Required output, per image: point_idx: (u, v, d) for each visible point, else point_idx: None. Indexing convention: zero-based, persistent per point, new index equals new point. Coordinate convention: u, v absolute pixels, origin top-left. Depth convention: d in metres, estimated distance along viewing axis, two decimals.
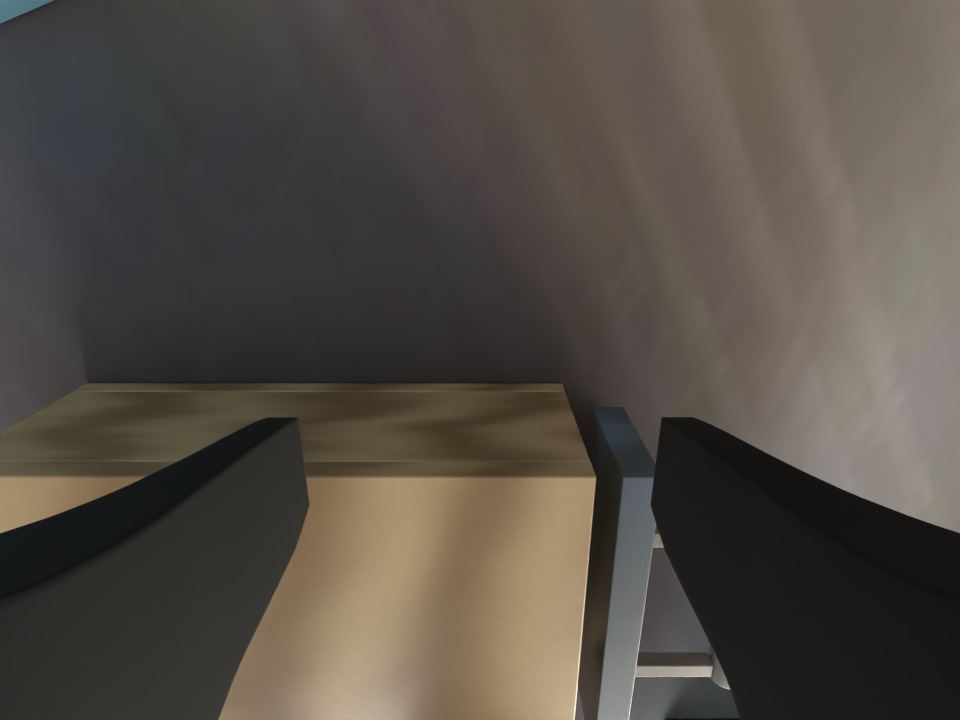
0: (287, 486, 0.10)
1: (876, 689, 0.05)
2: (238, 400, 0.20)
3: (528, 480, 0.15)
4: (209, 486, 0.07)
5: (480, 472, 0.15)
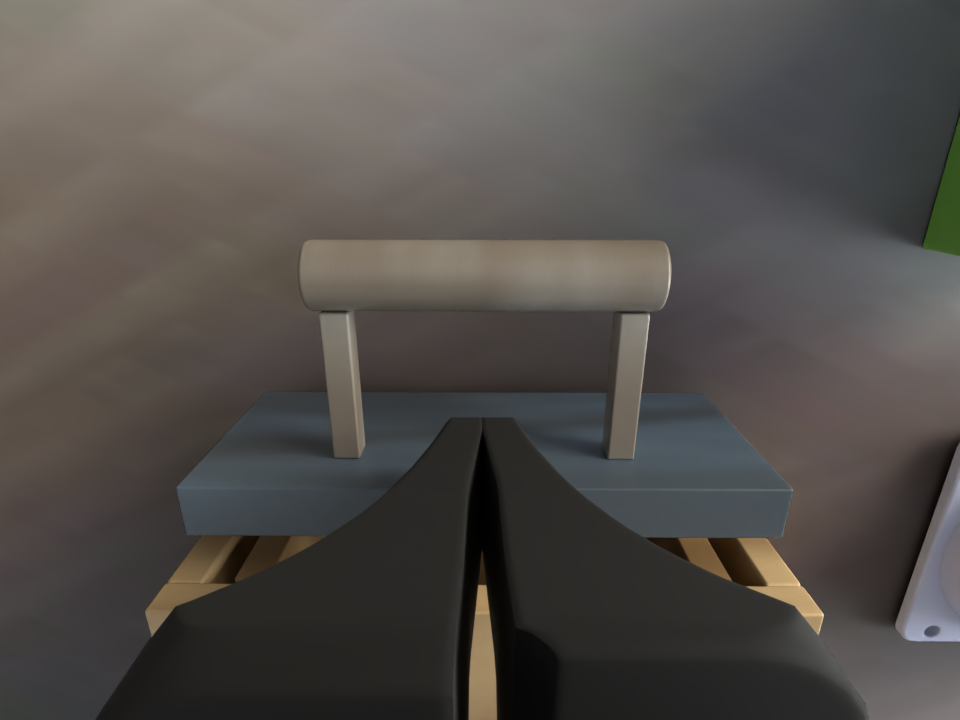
0: None
1: (506, 689, 0.05)
2: None
3: None
4: (469, 485, 0.07)
5: None
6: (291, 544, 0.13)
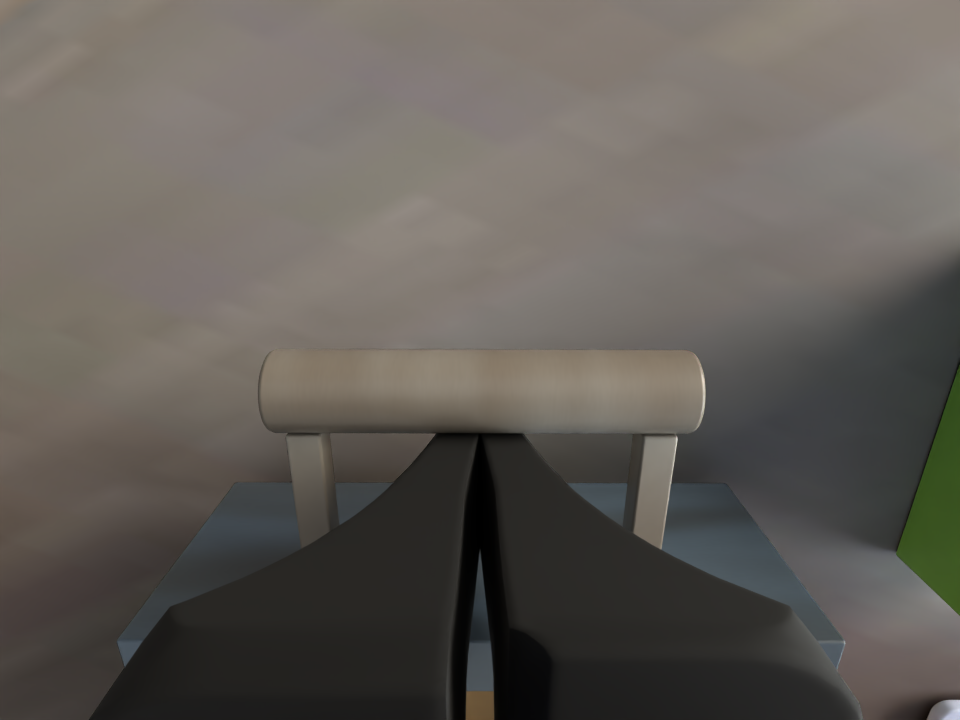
0: (479, 486, 0.10)
1: (502, 689, 0.05)
2: None
3: None
4: (466, 485, 0.07)
5: None
6: None
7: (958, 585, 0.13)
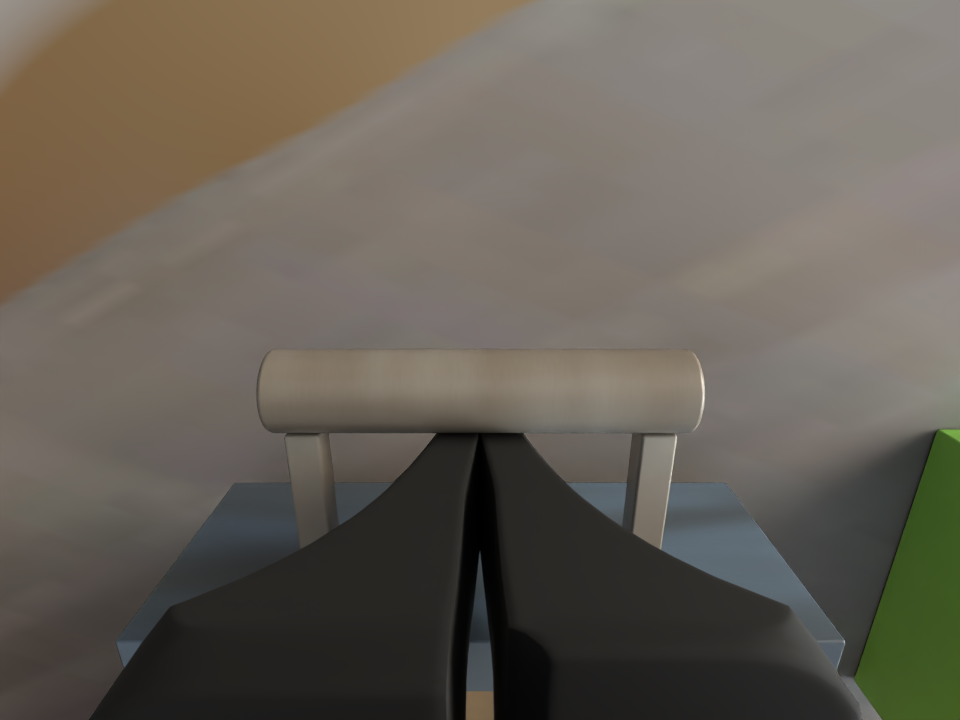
0: (479, 486, 0.10)
1: (501, 689, 0.05)
2: None
3: None
4: (466, 485, 0.07)
5: None
6: None
7: None
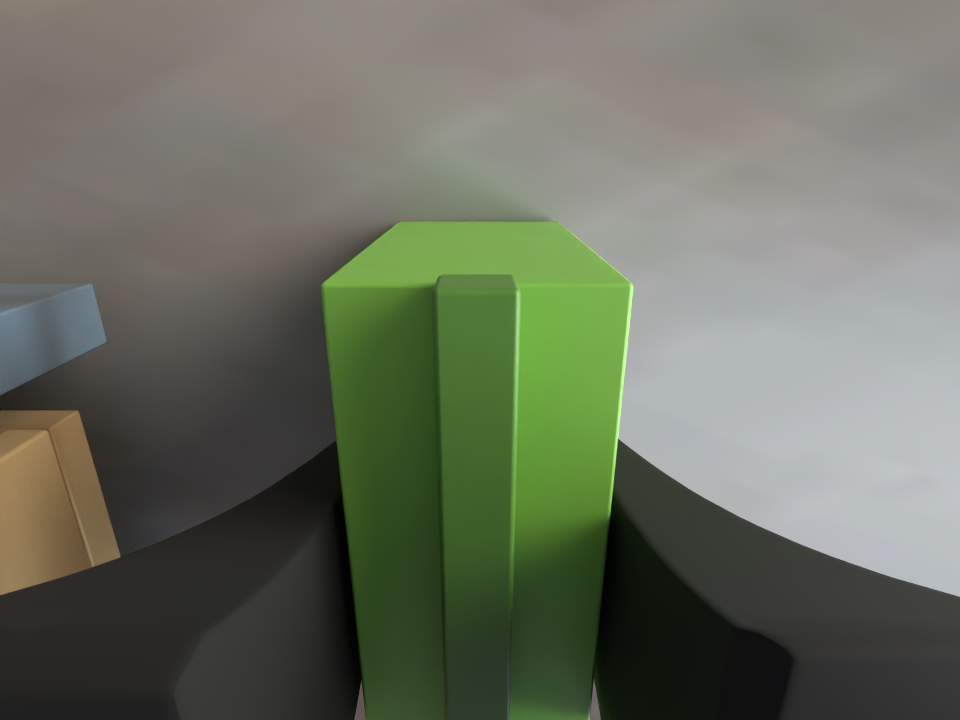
0: None
1: (663, 689, 0.05)
2: None
3: None
4: None
5: None
6: None
7: None
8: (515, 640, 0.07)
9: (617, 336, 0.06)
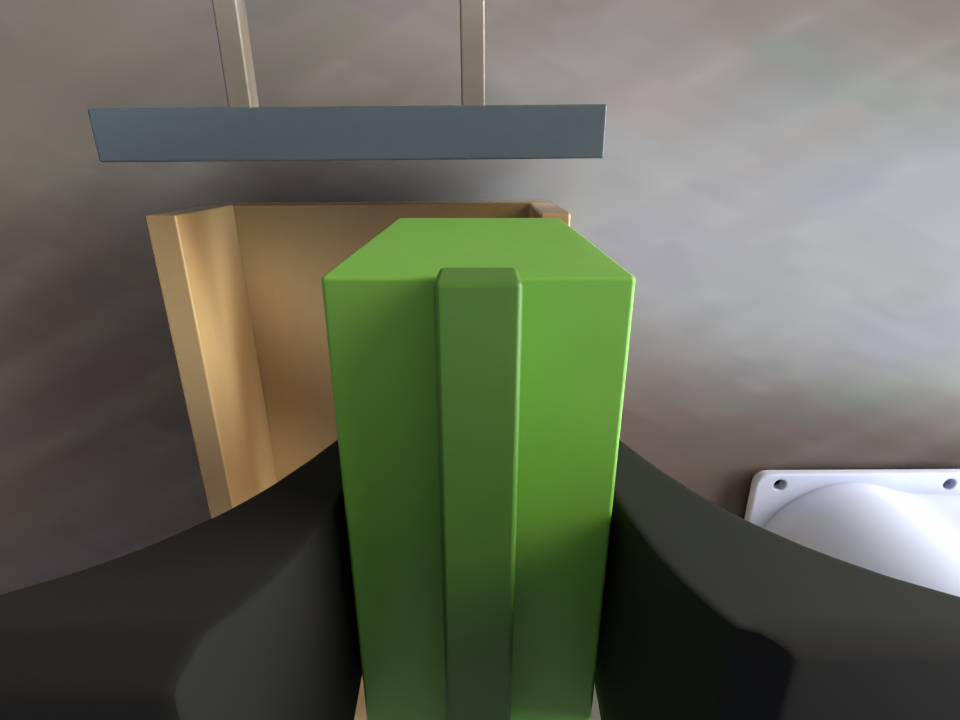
0: None
1: (663, 689, 0.05)
2: None
3: None
4: None
5: None
6: (202, 216, 0.15)
7: None
8: (516, 636, 0.07)
9: (619, 330, 0.06)
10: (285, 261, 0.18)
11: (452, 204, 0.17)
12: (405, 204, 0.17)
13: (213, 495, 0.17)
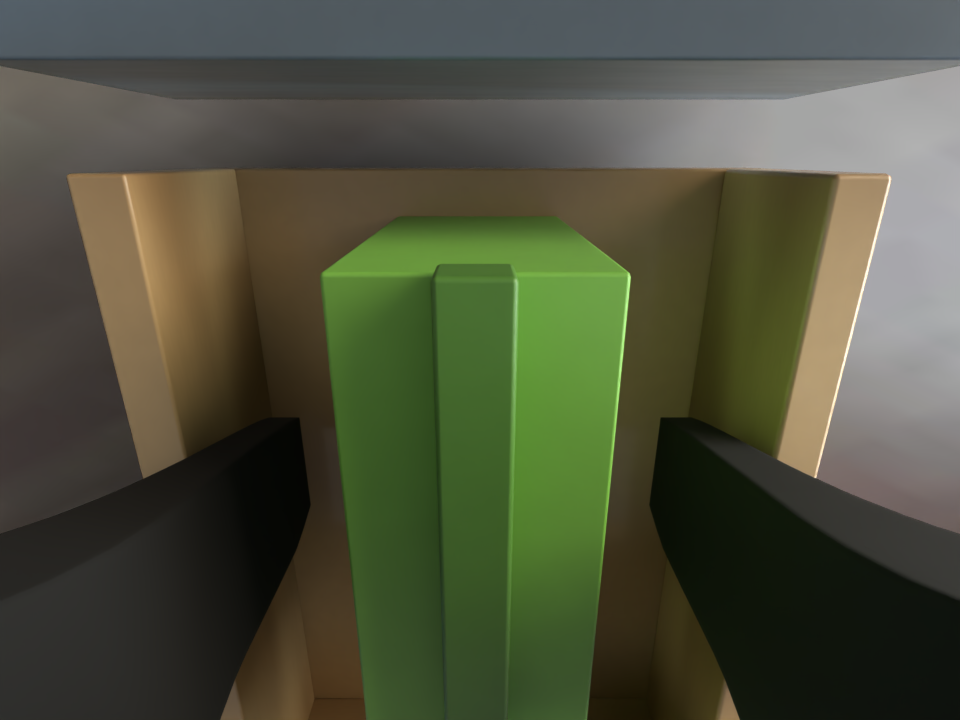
0: (288, 486, 0.10)
1: (874, 689, 0.05)
2: None
3: None
4: (210, 486, 0.07)
5: None
6: (180, 182, 0.08)
7: None
8: (513, 630, 0.07)
9: (615, 326, 0.06)
10: (319, 263, 0.11)
11: (597, 170, 0.10)
12: (520, 170, 0.10)
13: None
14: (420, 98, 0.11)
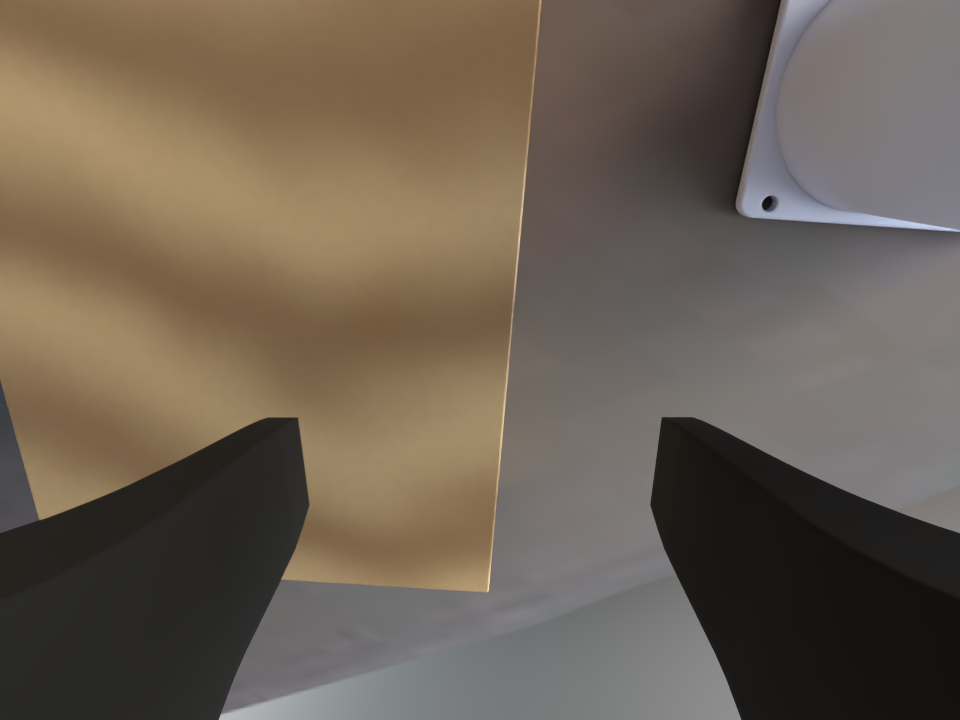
0: (287, 486, 0.10)
1: (876, 689, 0.05)
2: None
3: None
4: (208, 485, 0.07)
5: None
6: None
7: None
8: None
9: None
10: None
11: None
12: None
13: None
14: None
